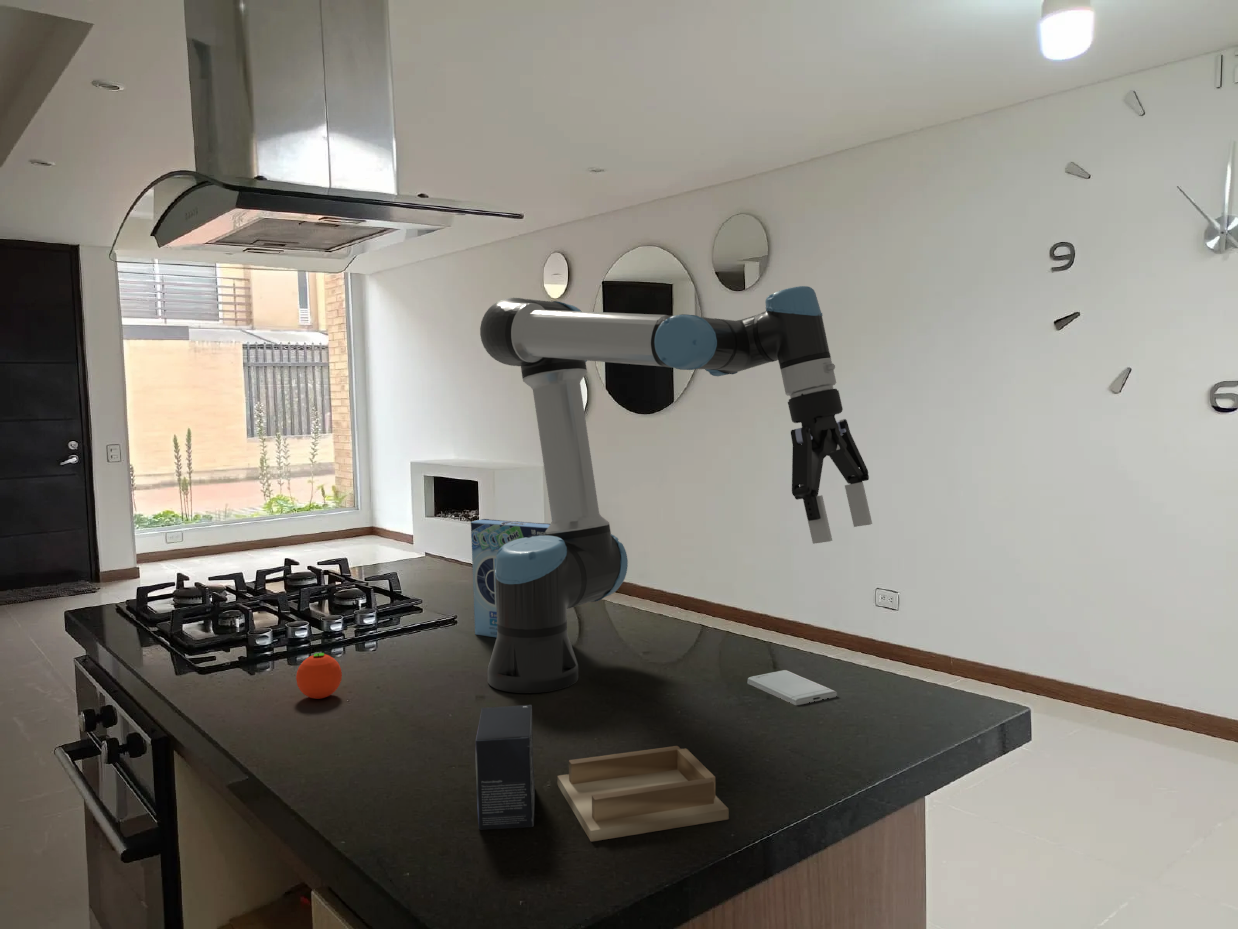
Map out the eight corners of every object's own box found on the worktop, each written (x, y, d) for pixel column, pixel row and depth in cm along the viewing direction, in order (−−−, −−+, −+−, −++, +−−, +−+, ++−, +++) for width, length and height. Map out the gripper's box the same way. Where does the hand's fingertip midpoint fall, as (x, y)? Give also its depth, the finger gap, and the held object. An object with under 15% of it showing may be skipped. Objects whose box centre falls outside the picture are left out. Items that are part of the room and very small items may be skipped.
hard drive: (747, 677, 151) (795, 698, 140) (787, 669, 155) (837, 689, 144) (747, 687, 151) (795, 709, 140) (787, 679, 155) (837, 700, 144)
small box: (481, 790, 112) (479, 705, 111) (535, 787, 112) (533, 703, 111) (475, 831, 101) (473, 738, 100) (534, 828, 102) (533, 735, 101)
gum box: (567, 641, 178) (565, 524, 176) (552, 648, 174) (549, 527, 172) (489, 629, 188) (486, 517, 186) (472, 635, 184) (469, 521, 182)
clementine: (299, 690, 150) (297, 648, 150) (343, 687, 152) (342, 644, 151) (294, 706, 142) (293, 661, 142) (341, 702, 144) (340, 658, 143)
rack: (557, 785, 113) (557, 755, 112) (680, 768, 117) (679, 739, 117) (590, 841, 98) (590, 808, 98) (728, 819, 103) (728, 787, 103)
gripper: (793, 391, 124) (828, 546, 123) (870, 381, 143) (900, 515, 142) (746, 404, 128) (780, 553, 128) (827, 392, 148) (856, 522, 147)
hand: (843, 533), depth 135 cm, fingers open, 13 cm apart
